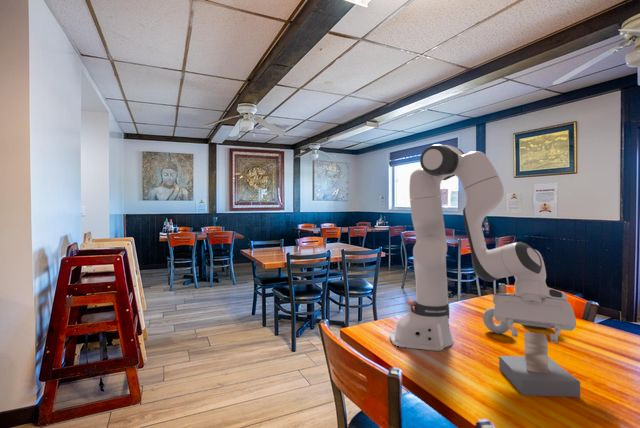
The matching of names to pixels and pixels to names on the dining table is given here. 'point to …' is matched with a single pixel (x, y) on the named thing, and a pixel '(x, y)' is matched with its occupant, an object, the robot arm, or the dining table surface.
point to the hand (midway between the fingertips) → (534, 338)
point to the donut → (490, 324)
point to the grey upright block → (536, 352)
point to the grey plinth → (539, 378)
